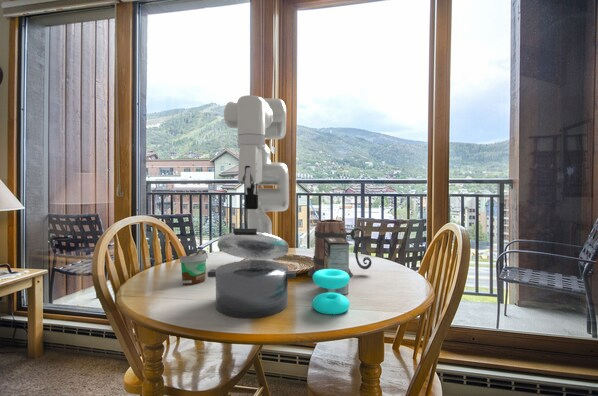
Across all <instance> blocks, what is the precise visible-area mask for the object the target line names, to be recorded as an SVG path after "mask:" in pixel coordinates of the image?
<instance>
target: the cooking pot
mask: <svg viewBox="0 0 598 396" xmlns="http://www.w3.org/2000/svg"><path fill="white" fill-rule="evenodd" d="M248 260H249V259H248ZM207 277H208V278H215V308H216V311H217V312H218V313H219V314H222V315H223V316H227V317H230V318H236V319H258V318H265V317H270V316H273V315H277V314H279V313H281V312H282V311H284V310H285V309H286V308H287V307H288V305H289V304H288V303H289V302H288V301H289V280H295V279H296V277H297V271H296V270H289V268H288V266H287V265H286V264H284V263H281V262H278V261H276V262H274V261H264V260H249V261H247V260H240V261H234V262H228V263H226V264H223V265H220V266H218V267H217V268H211V269H210V270H209V271H208V272H207Z"/></svg>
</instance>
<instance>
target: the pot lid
mask: <svg viewBox="0 0 598 396" xmlns="http://www.w3.org/2000/svg"><path fill="white" fill-rule="evenodd" d="M217 248H218V249H219V250H220V251H221V252H223V253H225V254H227V255H229V256H233V257H237V258H242V259H247V260H249V259H273V260H275V259H278V258H282V257H285V256H287V254H288V253H289V244H288V242H287V241H286V240H284V239H283V238H281V237H279V236H276V235H274V234H272V235H270V234H265V233H259V232H258V230H257V229H249V228H238V227H237V228H233V230H232V232H228V233H225V234H223V235H221V236H220V237H219V238H218V240H217Z"/></svg>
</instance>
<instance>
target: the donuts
mask: <svg viewBox="0 0 598 396" xmlns="http://www.w3.org/2000/svg"><path fill="white" fill-rule="evenodd" d="M350 279H351V278H350V277H349V275H348V274H347V273H346V272H344V271H342V270H337V269H322V270H318V271H316V272H315V273H314V274H313V278H312V282H313V283H314V284H315V285H316V286H317V287H319V288H322V289H326V288H327V289H338V288H342V287H344V286H346V285H347V284H348V285H349V283H350ZM327 289H326V290H327ZM312 306H313V309H314V310H315V311H317V312H318V313H321V314H324V315H332V314H333V315H340V314H344V313H345V312H347V311H348V310H349V308H350V301H349V299H348V298H347V296H345V295H344V294H338V293H332V292H328V291H327V292H322V293H318V294H317V295H316V296H314V298H313V300H312Z"/></svg>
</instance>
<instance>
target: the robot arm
mask: <svg viewBox="0 0 598 396" xmlns="http://www.w3.org/2000/svg"><path fill="white" fill-rule="evenodd" d="M223 120H224V123H225V125H226V126H227V127H228V129H237V148H238V149H239V152H238V170H237V172H238V173H237V174H238V175H237V182H238V183H239V184H244V185H245V186H244V187H245V188H244V189H245V209H246V210H247V214H248V229H257V230H258V232H259V233H265V234H270V235H273V223H272V219H271V217H270V216H269V215H267V212H285V211H287V210H288V209H289V206H290V181H289V180H290V176H289V168H288V166H287V164H286V163H284V162H281V161H279V162H278V161H277V162H276V161H275V162H272V161H271V158H272V157H271V152H272V151H271V149H270V148H269V147H268V144H267V143H266V140H282V139H284V138H285V137H286V135H287V107H286V104H285V102H284V101H283V99H281V98H266V97H265V98H263V97H261V96H259V95H243V96H240V97H239V98H238V100H237V101H235V100H234V101H229V102H227V103H226V104H225V107H224V110H223ZM259 186H276V187H277V188H267V187H265V188H261V187H260V188H259ZM248 260H264V261H274V262H277V261H276V260H275V259H248Z"/></svg>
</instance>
